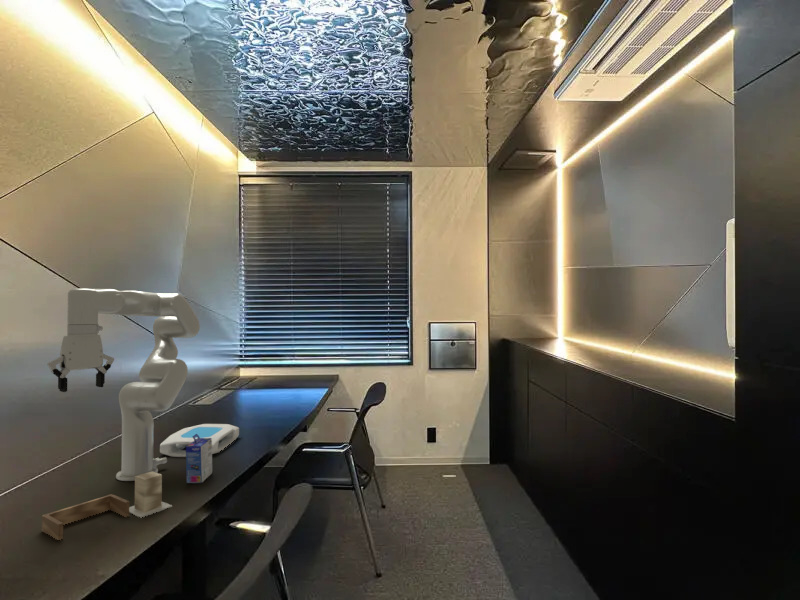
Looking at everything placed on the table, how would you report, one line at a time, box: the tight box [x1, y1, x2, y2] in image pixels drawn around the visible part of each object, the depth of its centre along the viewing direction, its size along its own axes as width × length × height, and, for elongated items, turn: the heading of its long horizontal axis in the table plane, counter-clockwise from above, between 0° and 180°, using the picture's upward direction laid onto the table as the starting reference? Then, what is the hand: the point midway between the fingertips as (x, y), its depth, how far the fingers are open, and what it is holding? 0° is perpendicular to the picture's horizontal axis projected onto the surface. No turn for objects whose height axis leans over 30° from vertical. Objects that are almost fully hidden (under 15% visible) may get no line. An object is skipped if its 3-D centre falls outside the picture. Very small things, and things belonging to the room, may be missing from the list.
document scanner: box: [159, 423, 240, 458], centre depth 198 cm, size 21×28×6 cm
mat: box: [129, 501, 173, 519], centre depth 137 cm, size 9×9×1 cm
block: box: [134, 471, 163, 512], centre depth 137 cm, size 5×5×9 cm
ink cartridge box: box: [185, 434, 213, 484], centre depth 161 cm, size 10×6×14 cm, turn 2°
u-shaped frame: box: [41, 493, 130, 541], centre depth 127 cm, size 17×10×4 cm, turn 147°
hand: (82, 389), depth 141 cm, fingers open, 9 cm apart
